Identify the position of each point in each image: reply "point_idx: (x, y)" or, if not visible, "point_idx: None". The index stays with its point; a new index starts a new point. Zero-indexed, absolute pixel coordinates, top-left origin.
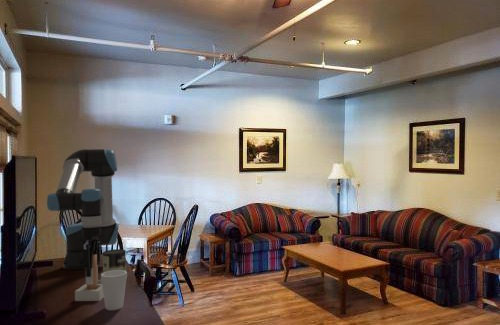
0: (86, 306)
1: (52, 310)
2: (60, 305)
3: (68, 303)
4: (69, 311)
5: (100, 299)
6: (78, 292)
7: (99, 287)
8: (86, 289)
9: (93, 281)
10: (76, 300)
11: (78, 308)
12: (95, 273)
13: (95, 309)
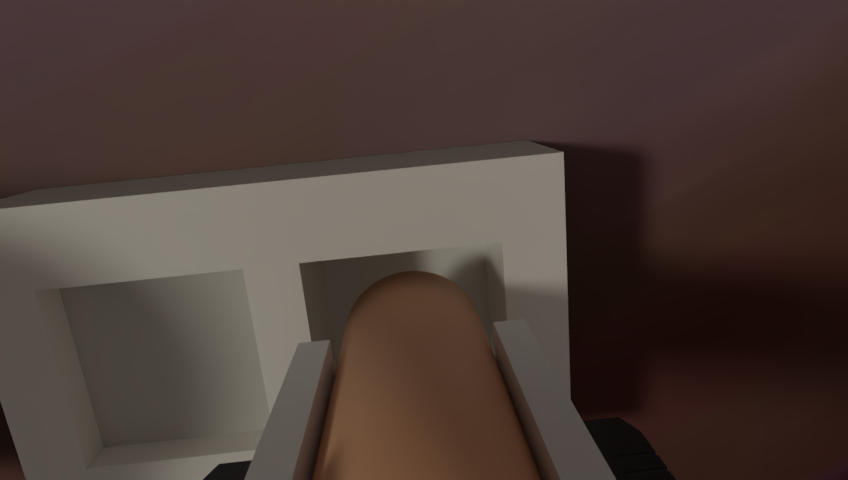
0: (698, 203)
1: (782, 466)
2: None
3: None
4: (826, 301)
5: (506, 143)
6: None
7: (402, 238)
8: None
9: (481, 342)
10: None
11: (751, 257)
12: (460, 397)
13: (799, 49)
